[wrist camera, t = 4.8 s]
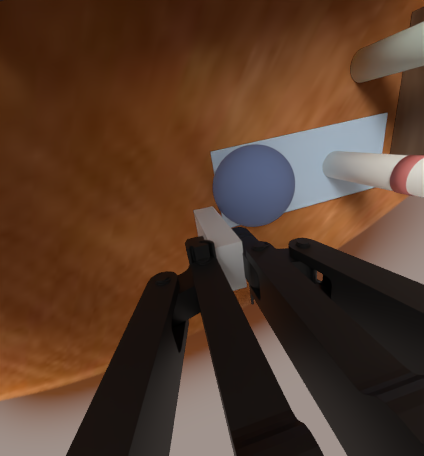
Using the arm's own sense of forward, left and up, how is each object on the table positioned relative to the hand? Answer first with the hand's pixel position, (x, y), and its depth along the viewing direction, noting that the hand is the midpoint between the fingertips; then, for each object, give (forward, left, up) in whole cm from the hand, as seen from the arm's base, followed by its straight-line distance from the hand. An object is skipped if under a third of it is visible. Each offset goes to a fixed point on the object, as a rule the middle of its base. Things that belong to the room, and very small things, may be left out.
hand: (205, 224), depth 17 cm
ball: (+4, +2, 0) cm, 5 cm away
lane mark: (+10, +1, -3) cm, 11 cm away
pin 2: (+13, +1, -3) cm, 14 cm away
